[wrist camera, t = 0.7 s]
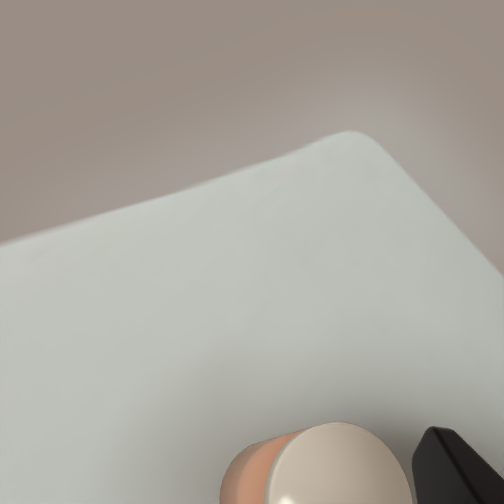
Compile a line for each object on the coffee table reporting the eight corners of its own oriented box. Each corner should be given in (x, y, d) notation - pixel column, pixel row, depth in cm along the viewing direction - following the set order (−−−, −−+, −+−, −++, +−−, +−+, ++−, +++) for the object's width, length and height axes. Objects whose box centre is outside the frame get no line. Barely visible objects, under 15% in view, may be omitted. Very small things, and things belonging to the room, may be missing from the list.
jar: (323, 564, 23) (424, 598, 16) (215, 564, 21) (273, 600, 14) (319, 444, 25) (403, 427, 18) (223, 437, 24) (276, 416, 17)
